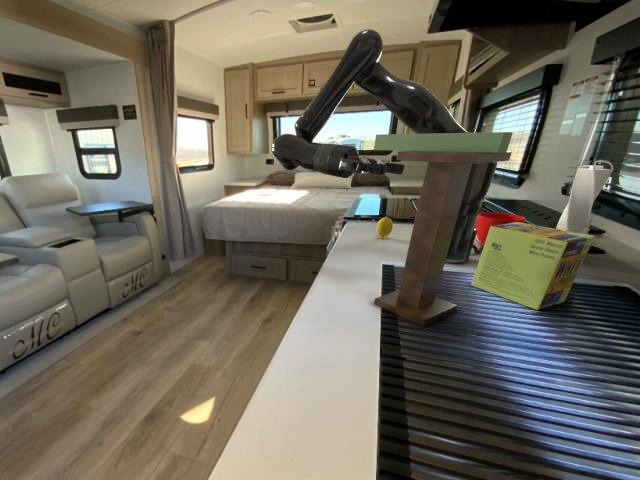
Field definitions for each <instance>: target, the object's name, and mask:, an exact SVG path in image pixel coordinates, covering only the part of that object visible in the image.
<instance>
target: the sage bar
mask: <svg viewBox="0 0 640 480" xmlns="http://www.w3.org/2000/svg"><path fill="white" fill-rule="evenodd" d="M513 134H514V132H513V131H500V132H499V131H494V132H493V131H492V132H468V133H434V134H415V133H393V134H392V133H391V134H390V133H387V134H375V139H374V146H373V151H396V152H401V151H434V152H476V153H506V152H507V151H508V150H509V146H510V143H511V140H512V137H513Z"/></svg>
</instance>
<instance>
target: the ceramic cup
mask: <svg viewBox="0 0 640 480" xmlns="http://www.w3.org/2000/svg"><path fill="white" fill-rule="evenodd" d="M517 222H520V223H525V222H526V217H524V216H522V215H518V214H514V213H506V212H493V211H492V212H491V211H488V212H479V216H478V219H477V222H476V226H475V230H477V234H476V238H477V240H478V241H479V243H480V245H481V246H484V245H485V242H486V239H487V236H488V233H489V230H490V227H491V226H494V225H502V224H509V223H517Z"/></svg>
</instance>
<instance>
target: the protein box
mask: <svg viewBox="0 0 640 480" xmlns="http://www.w3.org/2000/svg"><path fill="white" fill-rule="evenodd" d="M595 238H596V235H592V234H581V233H575V232H569V231H564V230H559V229H556V228H555V227H553V228H552V227H547V226H542V225H536V224H530V223H525V222H524V223H520V222H517V223H509V224H502V225H494V226H491V227H490V230H489V233H488V236H487V239H486V242H485V245H483V246H484V248H483V250H482V251H481V254H480V257H479V261H478V264H477V266H476V268H475V272H474V275H473V278H472V281H471V284H470V285H471V286H472V287H474V288H477V289H480V290H482V291H485V292H488V293H491V294H493V295H496V296H498V297H500V298H503V299H506V300H508V301H511V302H514V303H516V304H519V305H522V306H525V307H528V308H530V309H533V310H536V311H540V310H543V309H546V308H550V307H552V306H555V305H556V306H557V305H559V304H562V303H564V302H566V299H567V297H568V295H569V293H570V291H571V289H572V286H573V284H574V282H575V280H576V278H577V275H578V273H579V271H580V269H581V267H582V265H583V263H584V260H585V258H586V256H587V254H588V252H589V250H590V248H591V246H592V243H593V241H594V240H595Z"/></svg>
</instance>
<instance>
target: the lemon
mask: <svg viewBox="0 0 640 480" xmlns="http://www.w3.org/2000/svg"><path fill="white" fill-rule="evenodd" d="M393 226H394V225H393V220H392V219H391V218H390V217H388V216H385V217H382V218H380V219H379V220H378V222H377V224H376V228H375V229H376V233H377V235H378V236H380V237H381V239H384V238H385V237H387V236H389V235H390V234H391V233H392V231H393V228H394V227H393Z"/></svg>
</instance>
